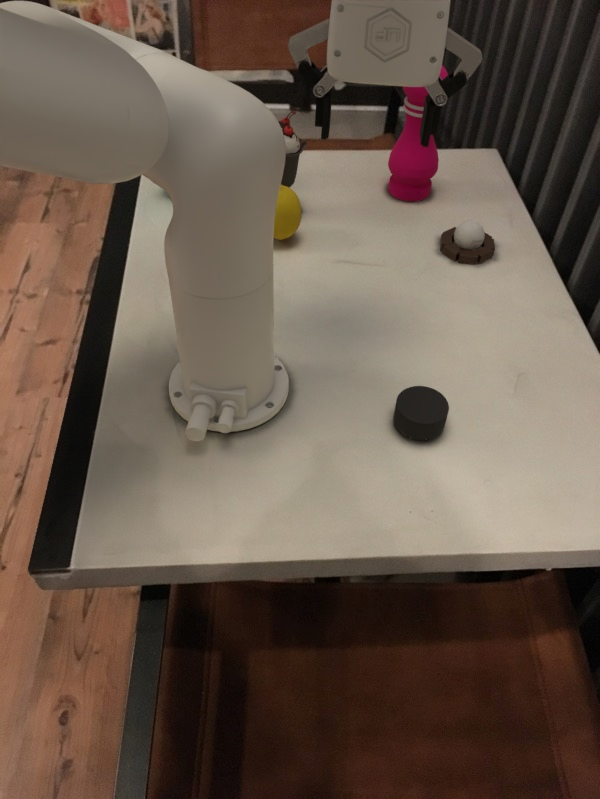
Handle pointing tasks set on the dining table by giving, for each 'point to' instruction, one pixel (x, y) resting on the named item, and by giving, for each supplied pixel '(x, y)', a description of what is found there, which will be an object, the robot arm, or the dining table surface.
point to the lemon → (286, 213)
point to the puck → (420, 412)
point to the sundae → (291, 151)
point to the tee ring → (466, 255)
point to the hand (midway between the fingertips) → (374, 137)
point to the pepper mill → (413, 151)
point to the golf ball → (469, 235)
